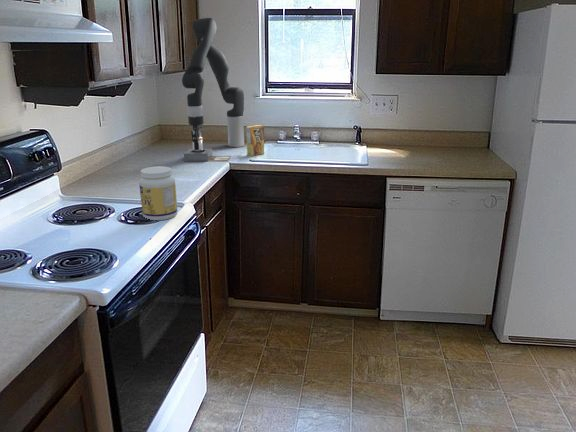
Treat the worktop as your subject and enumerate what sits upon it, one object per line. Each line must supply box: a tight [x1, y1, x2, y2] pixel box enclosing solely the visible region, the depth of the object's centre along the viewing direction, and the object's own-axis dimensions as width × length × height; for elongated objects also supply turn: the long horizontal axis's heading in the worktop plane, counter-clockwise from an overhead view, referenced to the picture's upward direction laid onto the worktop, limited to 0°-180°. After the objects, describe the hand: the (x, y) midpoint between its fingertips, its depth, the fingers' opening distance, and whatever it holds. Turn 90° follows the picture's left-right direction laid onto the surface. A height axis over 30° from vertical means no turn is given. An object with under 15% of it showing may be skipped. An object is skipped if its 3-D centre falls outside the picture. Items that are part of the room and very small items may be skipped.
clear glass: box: [191, 136, 204, 152], centre depth 265 cm, size 5×5×11 cm
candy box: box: [245, 124, 265, 157], centre depth 277 cm, size 9×4×15 cm, turn 129°
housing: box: [183, 148, 213, 161], centre depth 267 cm, size 12×12×4 cm
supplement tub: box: [138, 165, 179, 221], centre depth 182 cm, size 12×12×17 cm
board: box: [183, 155, 232, 163], centre depth 267 cm, size 13×22×1 cm, turn 87°
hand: (197, 148), depth 265 cm, fingers closed on clear glass, 5 cm apart
